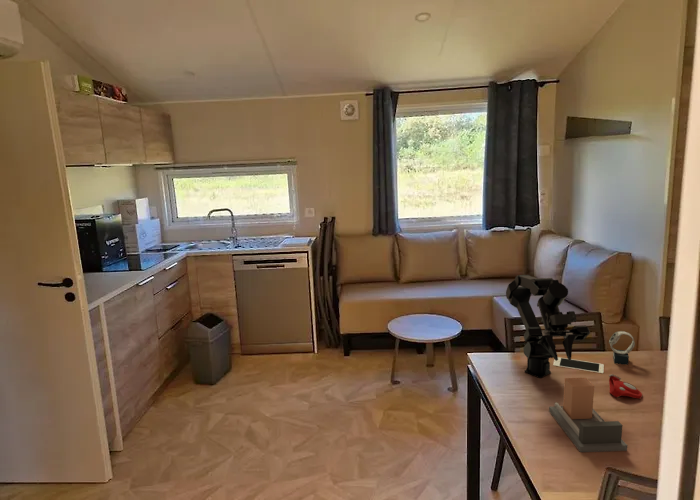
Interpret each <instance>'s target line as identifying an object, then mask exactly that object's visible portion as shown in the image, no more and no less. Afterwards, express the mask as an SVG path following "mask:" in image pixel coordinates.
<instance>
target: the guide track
mask: <svg viewBox="0 0 700 500" xmlns="http://www.w3.org/2000/svg"><path fill="white" fill-rule="evenodd" d="M548 412H549V414H550V415H551V416H552V417H553V419H554V420H555V421H556V422H557V424H558V426H560V428H561V429H562V430H563V432H564V433H565V434H566V436H567V437H568V438H569V440H570V441H571V442H572V443H573V445H574V446H575V448H576V449H577V450H578V452H580V453H594V452H595V453H597V452H599V453H601V452H624V451H626V452H627V451H628V444H627V443H626V442H625V441H624V440H623V438H622V435H623V424H622V423H621V422H620V421H619V420H611V421H610V420H609V421H606V420H604V418H602V417H601V415H599V413H598V412H597V411H596V410H595V409H594V408H593V412H592V419H571V418H570V417H569V416H568V415H567V414H566V412H565V411H564V410H563V405H560V404H559V402H554V405H553V406H548Z"/></svg>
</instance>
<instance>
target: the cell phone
mask: <svg viewBox="0 0 700 500" xmlns="http://www.w3.org/2000/svg"><path fill="white" fill-rule="evenodd" d="M552 366H554V367H559V368H566V369H572V370H577V371H578V370H579V371H582V372H583V371H584V372H591V373H597V374H602V375H603V374H604V368H605V365H604V363H599V362H592V361H585V360H579V359H572V358H571V360H568V358H565V357H560V356H558V360H557V361H556V360H555V359H554V360H553V363H552Z"/></svg>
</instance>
